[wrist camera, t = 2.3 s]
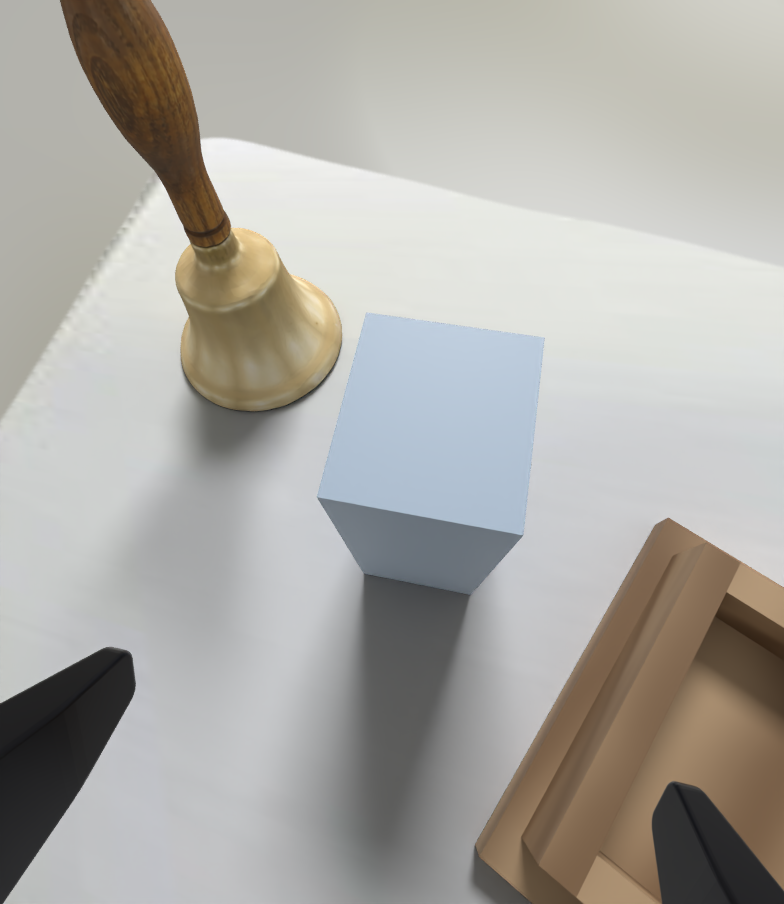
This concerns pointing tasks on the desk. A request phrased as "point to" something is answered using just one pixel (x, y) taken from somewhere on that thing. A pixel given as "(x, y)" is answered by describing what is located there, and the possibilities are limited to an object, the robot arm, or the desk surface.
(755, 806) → the tray
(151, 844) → the desk surface
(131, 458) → the desk surface
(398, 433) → the box
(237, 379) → the hand bell
